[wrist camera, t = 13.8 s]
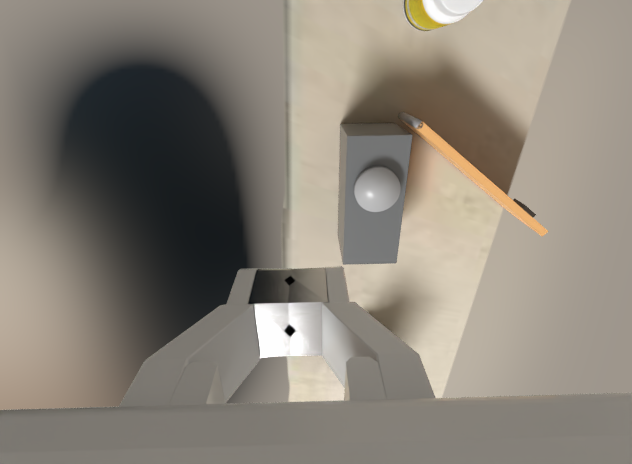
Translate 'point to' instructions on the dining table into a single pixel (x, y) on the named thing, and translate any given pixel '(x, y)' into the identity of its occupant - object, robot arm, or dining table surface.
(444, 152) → the side door
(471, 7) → the supplement bottle
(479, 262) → the dining table surface
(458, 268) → the dining table surface
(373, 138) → the block
